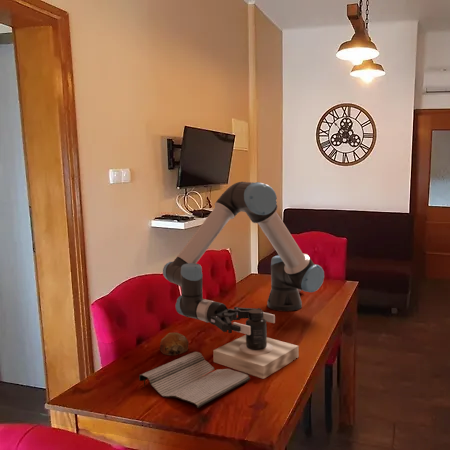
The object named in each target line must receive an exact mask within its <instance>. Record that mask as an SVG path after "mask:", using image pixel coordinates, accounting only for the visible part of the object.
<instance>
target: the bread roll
mask: <svg viewBox="0 0 450 450" xmlns="http://www.w3.org/2000/svg"><path fill="white" fill-rule="evenodd" d="M159 348H160V349H159V351H160V352H161V354H163V355H165V356H179V355H182V354H184V353H186V352H187V351H188V349H189V341H188V338H187V337H186V336H185V335H183V333H179V332H169V333H167V334H166V335H164V336H163V338H162V339H161V340H160V343H159ZM178 354H179V355H178Z"/></svg>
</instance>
